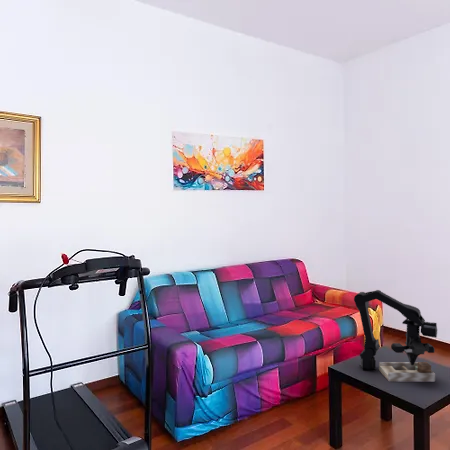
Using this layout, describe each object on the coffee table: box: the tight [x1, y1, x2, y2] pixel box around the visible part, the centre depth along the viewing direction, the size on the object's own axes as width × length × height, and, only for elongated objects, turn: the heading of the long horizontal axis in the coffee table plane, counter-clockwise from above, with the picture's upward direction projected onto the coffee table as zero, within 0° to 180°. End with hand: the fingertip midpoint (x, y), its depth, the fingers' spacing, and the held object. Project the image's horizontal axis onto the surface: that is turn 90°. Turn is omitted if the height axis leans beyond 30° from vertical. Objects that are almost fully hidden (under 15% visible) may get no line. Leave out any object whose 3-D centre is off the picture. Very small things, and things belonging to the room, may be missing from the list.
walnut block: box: [417, 361, 432, 373], centre depth 195 cm, size 4×4×4 cm
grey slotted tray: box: [378, 361, 436, 383], centre depth 198 cm, size 22×13×4 cm, turn 89°
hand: (412, 365), depth 195 cm, fingers closed
